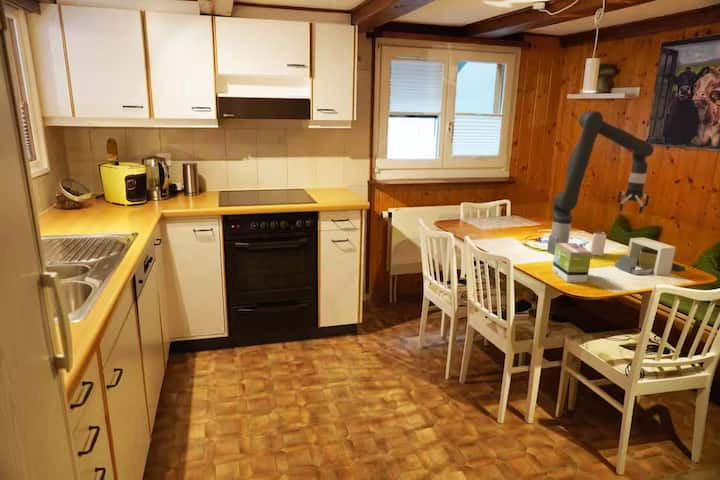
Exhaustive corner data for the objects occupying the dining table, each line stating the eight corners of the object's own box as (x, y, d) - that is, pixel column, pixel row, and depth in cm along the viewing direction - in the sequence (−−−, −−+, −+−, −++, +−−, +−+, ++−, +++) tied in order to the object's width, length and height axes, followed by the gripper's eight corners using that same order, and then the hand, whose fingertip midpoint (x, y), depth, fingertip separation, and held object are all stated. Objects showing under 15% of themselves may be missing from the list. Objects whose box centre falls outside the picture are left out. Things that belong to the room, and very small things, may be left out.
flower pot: (656, 272, 238) (660, 255, 236) (636, 269, 242) (640, 251, 240) (657, 268, 245) (661, 251, 243) (637, 264, 250) (641, 247, 247)
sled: (635, 274, 233) (638, 260, 231) (612, 265, 245) (615, 252, 243) (671, 271, 240) (674, 257, 238) (647, 262, 252) (650, 249, 251)
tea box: (551, 271, 234) (555, 242, 230) (571, 271, 235) (575, 242, 231) (566, 282, 220) (571, 251, 216) (587, 283, 221) (592, 251, 217)
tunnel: (655, 275, 234) (661, 248, 231) (625, 263, 251) (630, 238, 247) (669, 273, 237) (675, 247, 233) (638, 262, 253) (643, 237, 250)
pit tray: (676, 271, 241) (677, 267, 241) (652, 262, 254) (653, 259, 253) (684, 270, 243) (685, 267, 242) (659, 261, 255) (660, 258, 255)
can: (598, 256, 261) (602, 234, 258) (587, 253, 266) (591, 232, 263) (605, 254, 265) (609, 233, 261) (594, 251, 270) (597, 230, 266)
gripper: (620, 180, 254) (614, 211, 258) (651, 184, 246) (645, 215, 251) (622, 179, 260) (616, 208, 264) (652, 182, 252) (646, 213, 257)
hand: (630, 212), depth 257 cm, fingers open, 8 cm apart
